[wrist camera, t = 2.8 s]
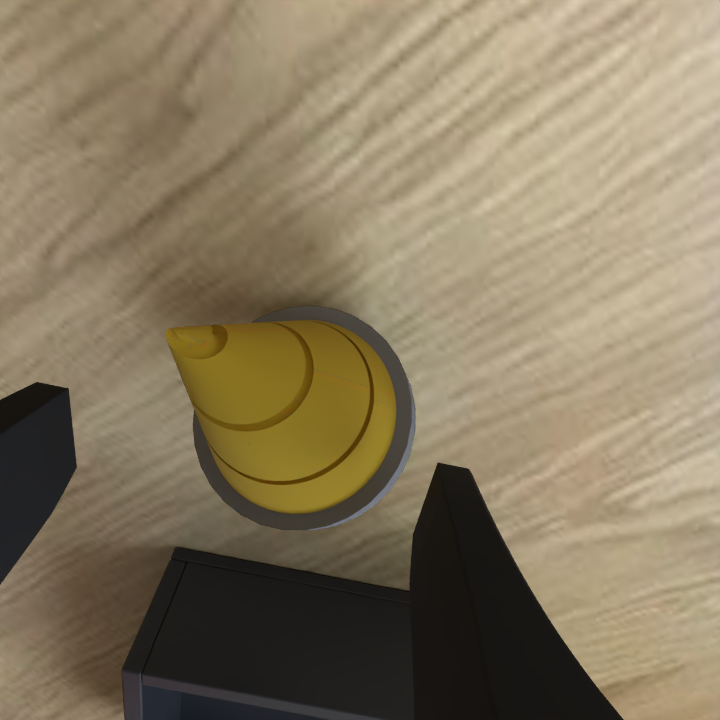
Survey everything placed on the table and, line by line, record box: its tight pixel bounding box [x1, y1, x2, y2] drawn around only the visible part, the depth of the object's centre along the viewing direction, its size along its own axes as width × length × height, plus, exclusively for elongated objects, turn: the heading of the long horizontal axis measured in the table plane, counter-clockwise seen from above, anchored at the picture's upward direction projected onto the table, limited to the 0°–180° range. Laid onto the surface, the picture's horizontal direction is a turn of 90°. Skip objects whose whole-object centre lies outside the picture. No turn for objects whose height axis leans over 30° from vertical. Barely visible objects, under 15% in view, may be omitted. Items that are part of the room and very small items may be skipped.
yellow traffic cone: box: [166, 306, 415, 530], centre depth 13 cm, size 5×5×10 cm
